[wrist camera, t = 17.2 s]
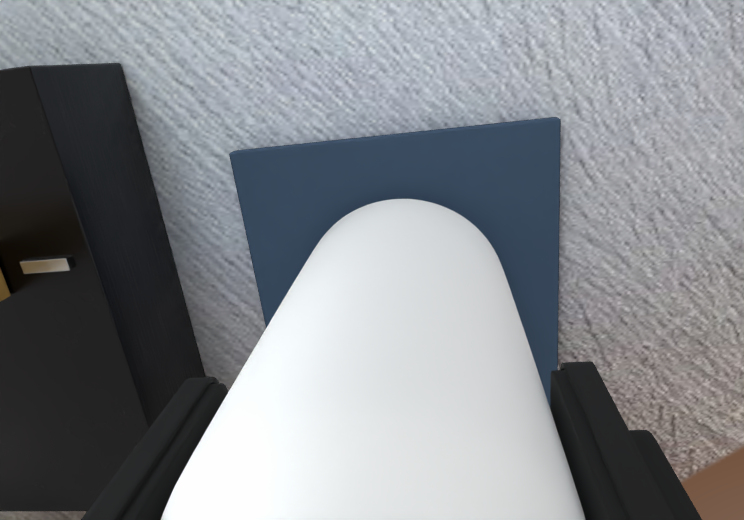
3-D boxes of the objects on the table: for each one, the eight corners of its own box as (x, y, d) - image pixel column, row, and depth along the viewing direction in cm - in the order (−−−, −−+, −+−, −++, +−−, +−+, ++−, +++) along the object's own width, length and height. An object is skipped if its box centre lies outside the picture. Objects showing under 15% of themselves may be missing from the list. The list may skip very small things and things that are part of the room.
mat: (234, 150, 17) (228, 153, 16) (557, 116, 15) (561, 118, 15) (287, 408, 20) (284, 416, 20) (554, 399, 19) (557, 408, 18)
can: (381, 401, 19) (309, 897, 8) (268, 263, 17) (-19, 639, 6) (542, 316, 17) (751, 813, 6) (432, 152, 15) (438, 410, 4)
